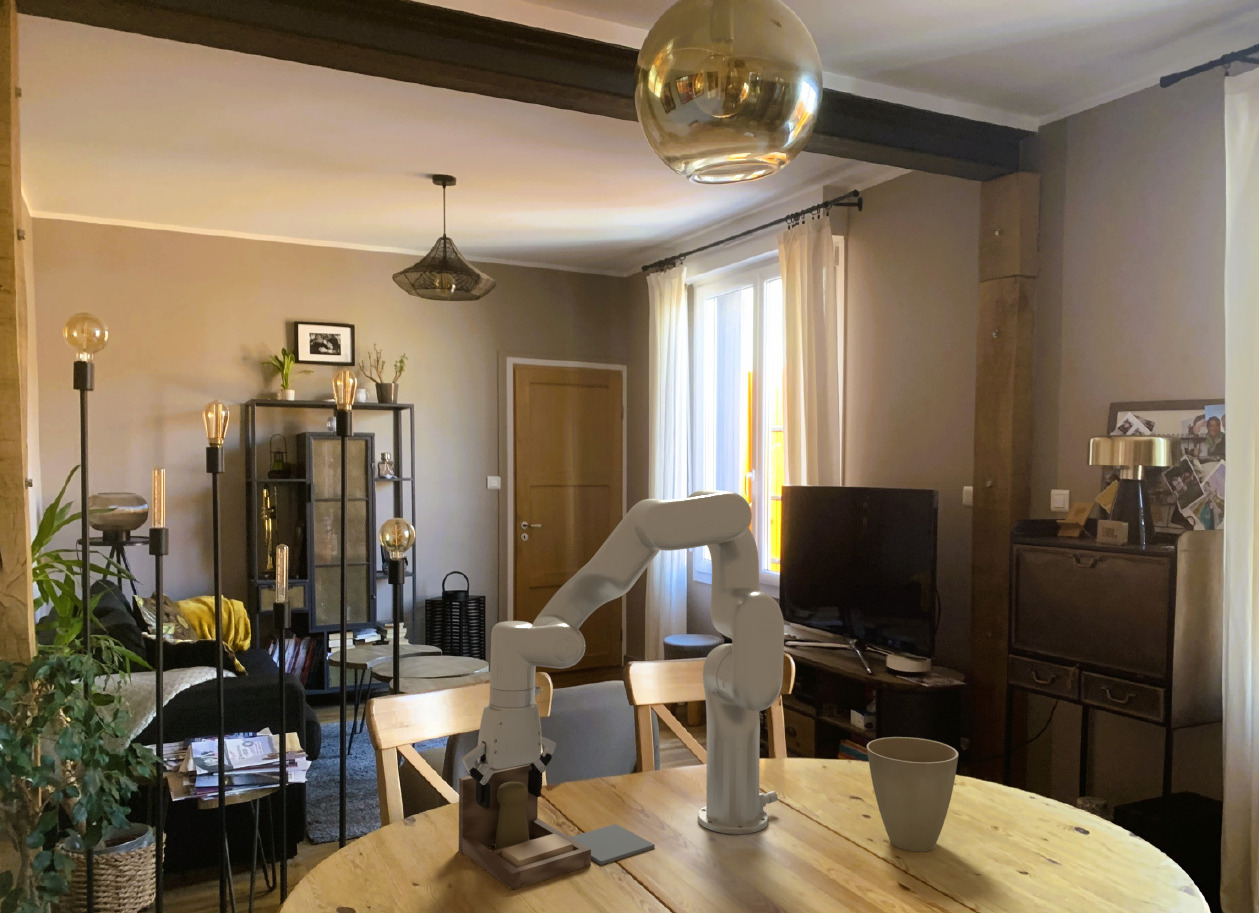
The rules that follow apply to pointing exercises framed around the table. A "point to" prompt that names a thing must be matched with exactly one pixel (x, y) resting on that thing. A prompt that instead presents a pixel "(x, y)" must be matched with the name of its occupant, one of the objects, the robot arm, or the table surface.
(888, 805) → the plant pot
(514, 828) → the olive pawn
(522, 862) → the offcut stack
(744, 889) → the table surface
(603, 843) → the slate mat
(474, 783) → the open walnut box
